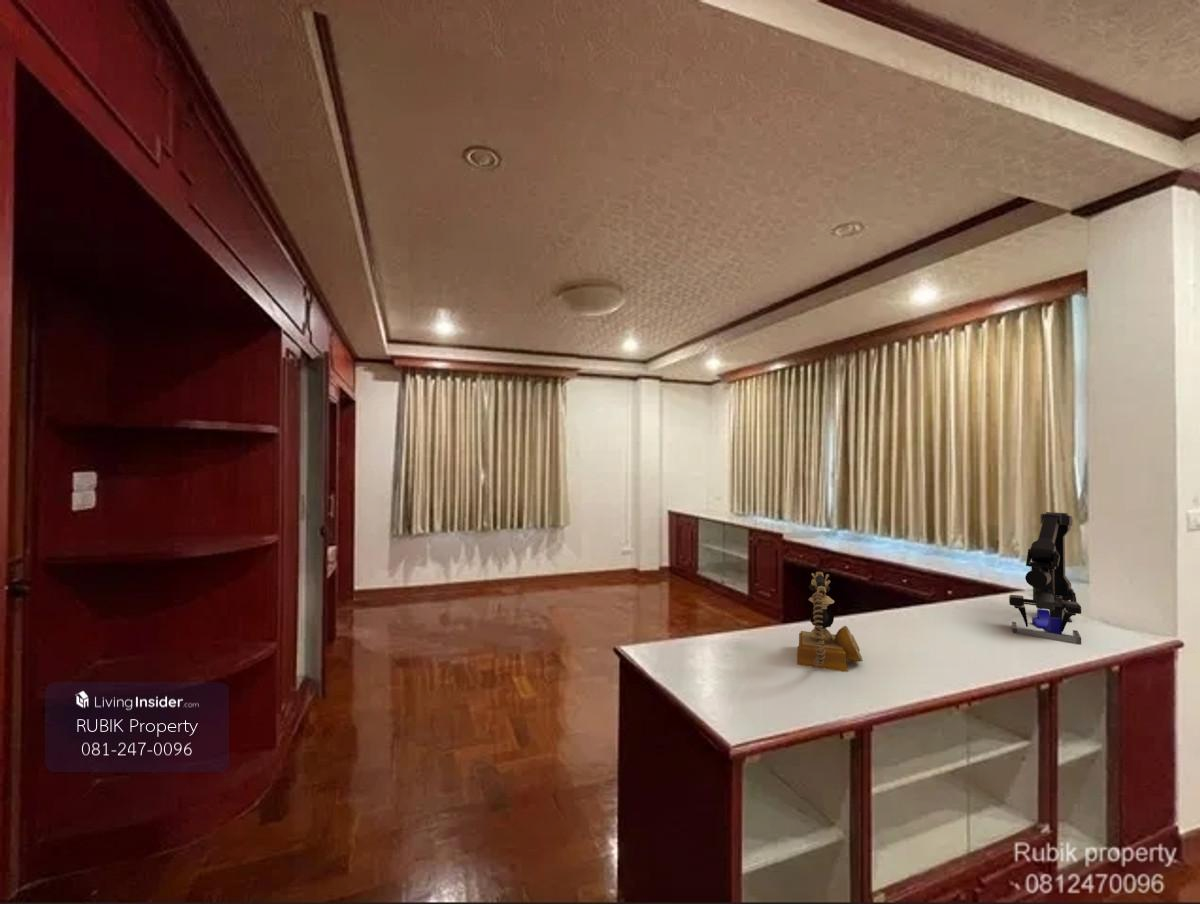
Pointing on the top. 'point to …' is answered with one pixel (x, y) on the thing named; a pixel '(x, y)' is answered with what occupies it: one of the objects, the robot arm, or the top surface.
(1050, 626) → the cable clip
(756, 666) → the top surface
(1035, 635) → the rail bay
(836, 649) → the jack-in-the-box toy
